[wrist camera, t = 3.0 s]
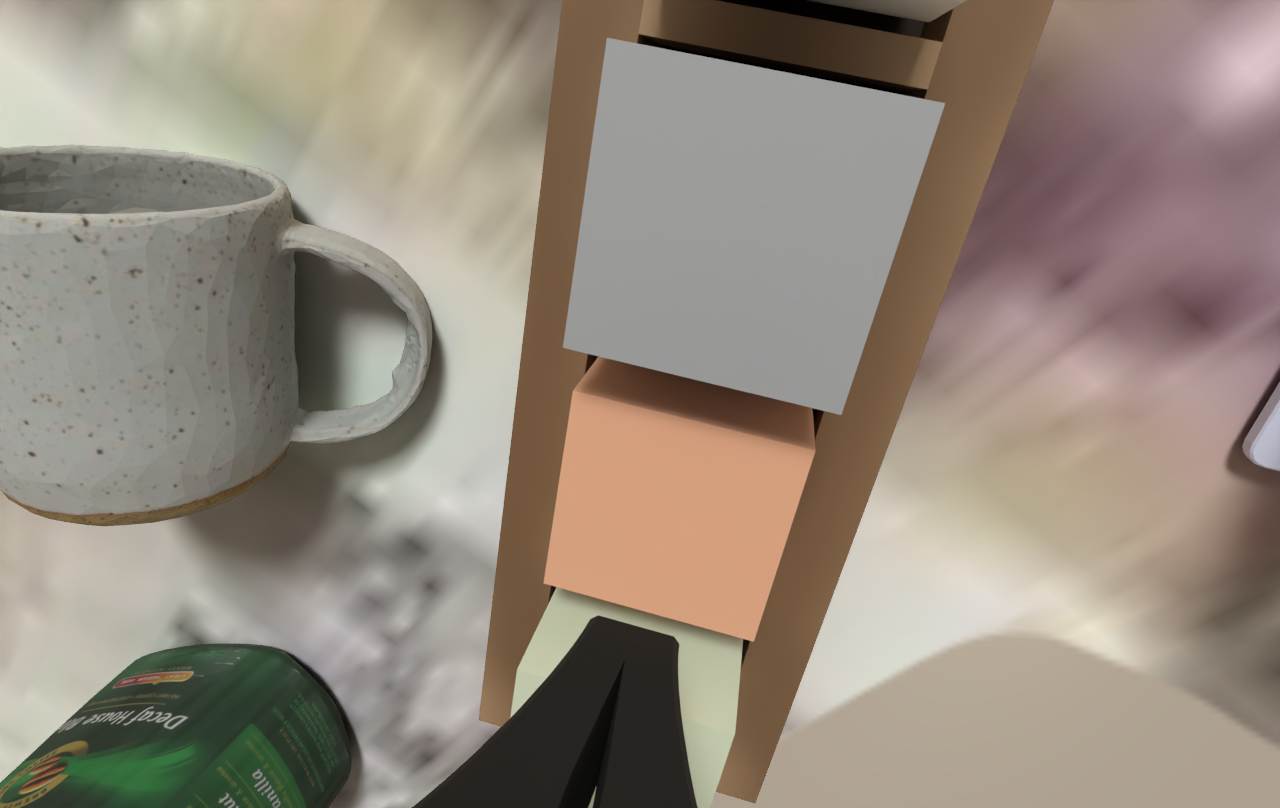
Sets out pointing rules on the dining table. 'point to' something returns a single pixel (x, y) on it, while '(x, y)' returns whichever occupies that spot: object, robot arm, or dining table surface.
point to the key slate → (741, 221)
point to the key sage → (701, 674)
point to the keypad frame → (916, 284)
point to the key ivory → (900, 7)
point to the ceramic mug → (162, 332)
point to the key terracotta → (677, 495)
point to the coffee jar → (194, 738)
